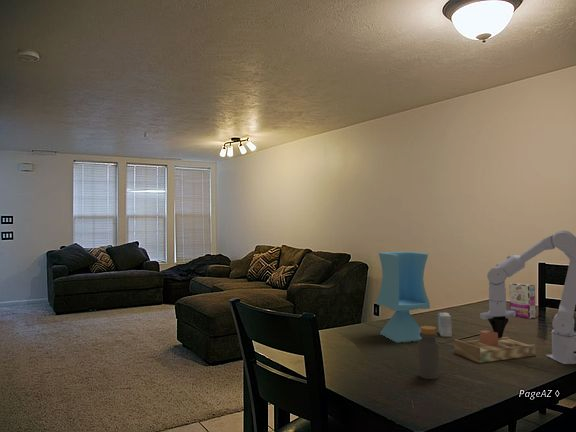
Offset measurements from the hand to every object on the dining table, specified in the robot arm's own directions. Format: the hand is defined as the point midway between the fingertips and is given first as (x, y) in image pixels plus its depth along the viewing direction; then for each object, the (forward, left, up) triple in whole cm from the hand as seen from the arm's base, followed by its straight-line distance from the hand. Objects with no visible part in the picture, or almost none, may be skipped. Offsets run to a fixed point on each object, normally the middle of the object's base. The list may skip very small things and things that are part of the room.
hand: (498, 337), depth 164 cm
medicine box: (+26, +10, -5) cm, 28 cm away
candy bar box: (+57, -43, -5) cm, 72 cm away
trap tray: (-4, +4, -5) cm, 7 cm away
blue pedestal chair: (+23, +29, -5) cm, 37 cm away
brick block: (-1, +4, -2) cm, 5 cm away
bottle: (-24, +36, -5) cm, 43 cm away
